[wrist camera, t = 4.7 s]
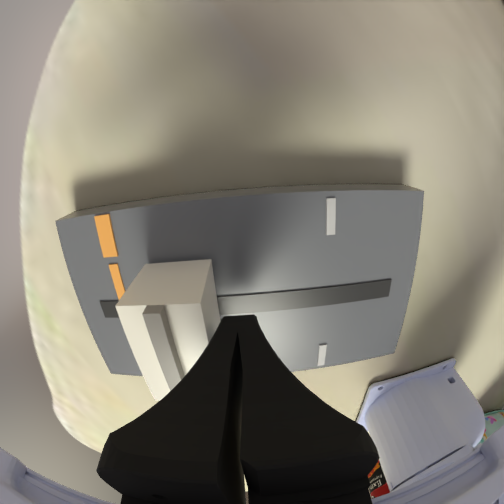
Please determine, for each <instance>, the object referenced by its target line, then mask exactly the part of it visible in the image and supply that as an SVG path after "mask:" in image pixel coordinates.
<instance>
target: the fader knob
mask: <svg viewBox="0 0 504 504" xmlns="http://www.w3.org/2000/svg"><path fill="white" fill-rule="evenodd" d="M115 307H116V309H117V312H118V315H119V318H120V321H121V324H122V326H123V329H124V332H125V334H126V337H127V339H128V342H129V344H130V347H131V349H132V352H133V354H134V357H135V359H136V361H137V364H138V366H139V368H140V370H141V373H142V375H143V377H144V379H145V381H146V383H147V385H148V388H149V390H150V392H151V394H152V396H153V398H154V400H158V401H160V400H161V399H162V398H164V397H165V396H166V395H167V394H168V393H169V392H170V391H171V390H172V389H173V388H174V387H175V386H176V385H177V384H178V383H179V382H180V381H181V380H182V379H183V378H184V376H185V375H186V374H187V373H188V372H189V370H190V369H191V368H192V367H193V365H194V364H195V363H196V361H197V360H198V358H199V357H200V356H201V354H202V353H203V351H204V350H205V348H206V347H207V345H208V343H209V342H210V340H211V339H212V337H213V335H214V333H215V331H216V330H217V328H218V326H219V323H220V315H219V308H218V302H217V295H216V288H215V282H214V275H213V267H212V260H211V259H205V260H192V261H178V262H165V263H152V264H145V265H144V267H143V268H142V269H141V271H140V272H139V273H138V275H137V276H136V277H135V279H134V280H133V282H132V283H131V284H130V286H129V287H128V289H127V290H126V291H125V293H124V294H123V296H122V297H121V298H120V300H119V301H118V303H117V304H116V306H115Z"/></svg>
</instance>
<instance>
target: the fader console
mask: <svg viewBox="0 0 504 504" xmlns="http://www.w3.org/2000/svg"><path fill="white" fill-rule="evenodd" d="M423 197H424V191H422V190H419V189H416V188H413V187H410V186H407V185H403V184H320V185H294V186H275V187H259V188H245V189H233V190H222V191H211V192H201V193H192V194H183V195H175V196H167V197H159V198H152V199H145V200H138V201H131V202H125V203H119V204H113V205H107V206H101V207H95V208H90V209H84V210H79V211H75V212H73V213H71V214H69V215H67V216H65V217H63V218H61V219H59V220H57V221H56V226H57V230H58V234H59V238H60V242H61V246H62V250H63V254H64V257H65V261H66V264H67V267H68V271H69V274H70V277H71V280H72V283H73V286H74V289H75V292H76V295H77V297H78V300H79V303H80V306H81V308H82V311H83V313H84V316H85V318H86V321H87V323H88V326H89V328H90V330H91V333H92V335H93V337H94V339H95V342H96V344H97V346H98V348H99V350H100V352H101V355H102V357H103V359H104V361H105V363H106V365H107V367H108V369H109V370H110V372H111V373H112V374H122V375H134V376H143V375H142V373H141V370H140V368H139V366H138V364H137V361H136V359H135V357H134V354H133V352H132V349H131V347H130V344H129V342H128V339H127V337H126V334H125V332H124V329H123V326H122V324H121V321H120V318H119V315H118V312H117V309H116V307H115V306H116V304H117V303H118V301H119V300H120V298H121V297H122V296H123V294H124V293H125V291H126V290H127V289H128V287H129V286H130V284H131V283H132V282H133V280H134V279H135V277H136V276H137V275H138V273H139V272H140V271H141V269H142V268H143V267H144V265H145V264H152V263H165V262H178V261H192V260H205V259H211V260H212V267H213V275H214V282H215V288H216V295H217V302H218V308H219V315H220V321H221V319H222V318H223V317H224V316H237V315H251V314H254V315H255V316H257V320H258V323H259V325H260V327H261V330H262V331H263V333H264V335H265V337H266V339H267V340H268V342H269V344H270V345H271V347H272V348H273V350H274V351H275V353H276V354H277V355H278V357H279V358H280V359H281V361H282V362H283V363H284V364H285V366H286V367H287V368H288V369H289V370H290V371H291V372H294V371H302V370H309V369H316V368H323V367H329V366H335V365H341V364H346V363H351V362H357V361H361V360H366V359H371V358H375V357H380V356H384V355H388V354H392V353H394V352H395V349H396V346H397V342H398V339H399V335H400V332H401V328H402V325H403V321H404V317H405V313H406V309H407V305H408V300H409V296H410V291H411V287H412V282H413V276H414V271H415V265H416V259H417V253H418V246H419V239H420V231H421V221H422V211H423Z"/></svg>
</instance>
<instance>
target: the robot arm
mask: <svg viewBox="0 0 504 504" xmlns="http://www.w3.org/2000/svg"><path fill="white" fill-rule="evenodd" d="M455 363H456V360H455V359H454V358H452V359H449V360H446V361H444V362H441V363H438V364H436V365H433V366H430V367H427V368H424V369H421V370H418V371H415V372H412V373H409V374H405V375H402V376H399V377H395V378H392V379H388V380H384V381H381V382H377V383H373V384H372V385H370V387H369V388H368V391H367V394H366V397H365V400H364V402H363V405H362V408H361V411H360V413H359V416H358V418H357V421H356V422H355V421H353V420H351V419H349V418H348V417H346V416H344V415H343V414H341V413H339V412H338V411H336V410H335V409H334V408H332V407H331V406H329V405H328V404H326V403H325V402H324V401H322V400H321V399H320V398H319V397H317V396H316V395H315V394H314V393H313V392H311V391H310V390H309V389H308V388H307V387H305V386H304V385H303V384H302V383H301V382H300V381H299V380H298V379H297V378H296V377H295V376H294V375H293V374H292V373H291V371H290V370H289V369H288V368H287V367H286V366H285V364H284V363H283V362H282V361H281V359H280V358H279V357H278V355H277V354H276V353H275V351H274V350H273V348H272V347H271V345H270V344H269V342H268V340H267V339H266V337H265V335H264V333H263V331H262V330H261V327H260V325H259V323H258V320H257V316H255V315H254V314H251V315H237V316H224V317H223V318H222V319H221V321H220V323H219V326H218V328H217V330H216V331H215V333H214V335H213V337H212V339H211V340H210V342H209V343H208V345H207V347H206V348H205V350H204V351H203V353H202V354H201V356H200V357H199V358H198V360H197V361H196V363H195V364H194V365H193V367H192V368H191V369H190V370H189V372H188V373H187V374H186V375H185V376H184V378H183V379H182V380H181V381H180V382H179V383H178V384H177V385H176V386H175V387H174V388H173V389H172V390H171V391H170V392H169V393H168V394H167V395H166V396H165V397H164V398H162V399H161V400H160V401H159V402H158V403H157V404H155V405H154V406H153V407H151V408H150V409H149V410H147V411H146V412H145V413H143V414H142V415H141V416H139V417H138V418H136V419H135V420H133V421H131V422H130V423H128V424H126V425H125V426H123V427H121V428H119V429H118V430H116V431H114V432H112V433H110V434H109V437H108V439H107V441H106V443H105V445H104V448H103V451H102V454H101V457H100V461H99V464H98V467H97V473H98V474H99V476H100V478H102V479H103V480H104V481H105V482H106V483H108V484H109V485H110V486H111V487H113V488H114V489H116V490H117V491H118V492H120V493H121V494H122V499H121V504H246V498H245V484H244V475H245V479H246V482H247V485H248V498H249V504H504V425H503V426H501V427H500V428H499V429H497V430H496V431H495V432H494V433H492V434H491V435H490V436H489V437H488V438H487V439H486V440H485V441H484V442H483V443H479V442H480V440H481V439H482V437H483V434H484V431H485V416H484V412H483V410H482V407H481V405H480V404H479V402H478V401H477V399H476V398H475V397H474V395H473V394H472V392H471V391H470V389H469V388H468V387H467V385H466V384H465V382H464V381H463V380H462V378H461V377H460V376H459V374H458V373H457V372H456V370H455V369H454V368H453V367H454V365H455ZM367 431H369V433H368V432H367ZM369 434H370V435H369ZM478 443H479V444H478ZM477 444H478V445H477ZM474 447H475V448H474ZM378 460H379V461H380V464H381V467H382V470H383V473H384V476H385V478H386V481H387V484H388V487H389V490H390V493H388V494H385V495H382V496H379V497H376V498H373V499H371V497H370V493H369V490H368V488H369V487H370V481H369V478H368V474H369V473H370V472H371V471H372V469H373V468H374V467H375V466H376V464H377V462H378ZM0 504H114V503H111V502H107V501H104V500H101V499H98V498H95V497H92V496H89V495H86V494H84V493H81V492H78V491H76V490H73V489H71V488H68V487H66V486H64V485H61V484H59V483H57V482H55V481H53V480H50V479H48V478H46V477H44V476H42V475H40V474H38V473H36V472H34V471H33V470H31V469H29V468H27V467H26V466H25V465H24V464H23V463H22V462H21V461H20V460H18V459H17V458H16V457H14V456H13V455H11V454H10V453H8V452H7V451H5V450H4V449H2V448H1V447H0Z"/></svg>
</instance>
